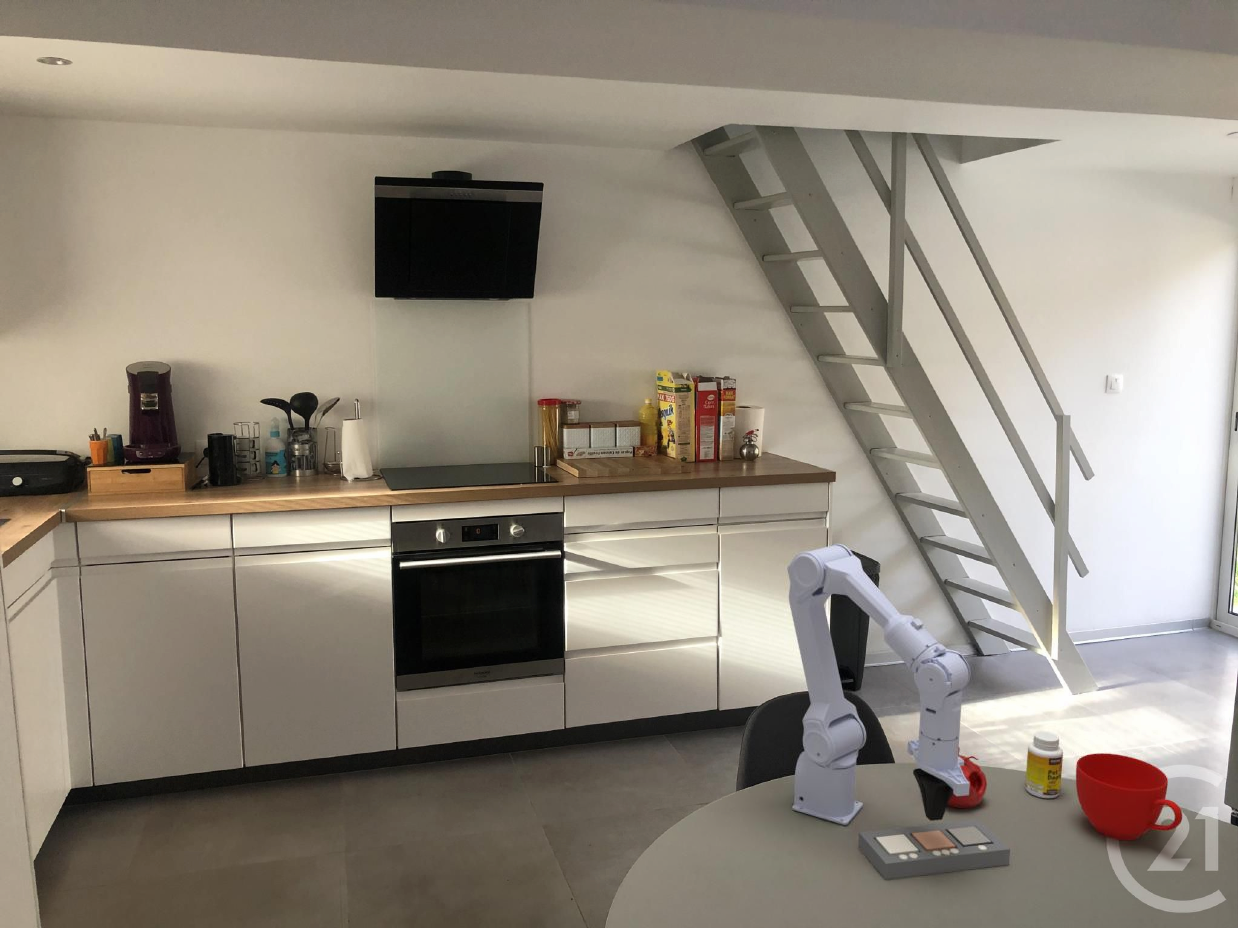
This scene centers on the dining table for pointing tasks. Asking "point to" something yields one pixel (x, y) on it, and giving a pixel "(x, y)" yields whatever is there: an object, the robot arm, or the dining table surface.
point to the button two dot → (896, 845)
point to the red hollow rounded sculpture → (975, 788)
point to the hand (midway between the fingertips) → (934, 817)
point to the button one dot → (969, 836)
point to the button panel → (933, 852)
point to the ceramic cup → (1122, 795)
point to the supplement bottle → (1044, 765)
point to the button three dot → (933, 840)
